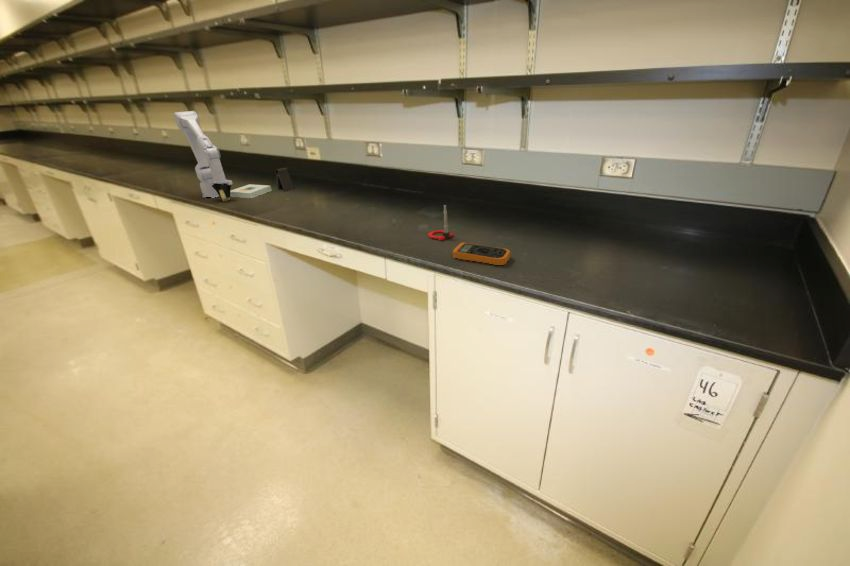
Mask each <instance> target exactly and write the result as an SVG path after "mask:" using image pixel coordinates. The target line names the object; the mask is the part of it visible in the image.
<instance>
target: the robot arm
mask: <svg viewBox="0 0 850 566" xmlns="http://www.w3.org/2000/svg"><path fill="white" fill-rule="evenodd" d="M173 117H174V122H175V124H176V126H177V128H178V129H179V131H180V132H183V134H184V135H185V137H186V139H187V141H188V144H189V146H190V149H191V151H192V153H193V155H194V157H195V160H196V162H197V164H196V165H195V167H194V170H195V174H196V176H197V179H198V180H199V181H200V183H199V187H200V190H201V194H202V196H201V197H202V198H206V197H211V198H210V199H216V198H221V195H220V192H219V189H223V191H224V193H225V196H226V198H230V199H231V197H230V191H231V190H232V185H234V184H233V181H232V180H230V179H228V178H227V179H226V175H225V172H224V170H223V169H224V168H223V166H222V163H221V153H220V150H219V148H218V147H217V146H215V145H214V144H213V143H212V141H211V140H210V139H209V137H208V136H207V135H205V134H204V132H203V131H202V129H201V127H200V121H199V120H200V119H199V116H198V114H197V112H196V111H195V110H191V111H188V110H187V111H178V112H177V111H175V112H174V114H173ZM215 197H216V198H215ZM221 199H222V198H221Z"/></svg>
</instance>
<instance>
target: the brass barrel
mask: <svg viewBox="0 0 850 566" xmlns="http://www.w3.org/2000/svg"><path fill="white" fill-rule="evenodd" d="M219 192H220V195H221V201H222V202H229V201H231V197H230V198H226V196H225V193H224V191H223V189H219ZM228 200H229V201H228Z"/></svg>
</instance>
